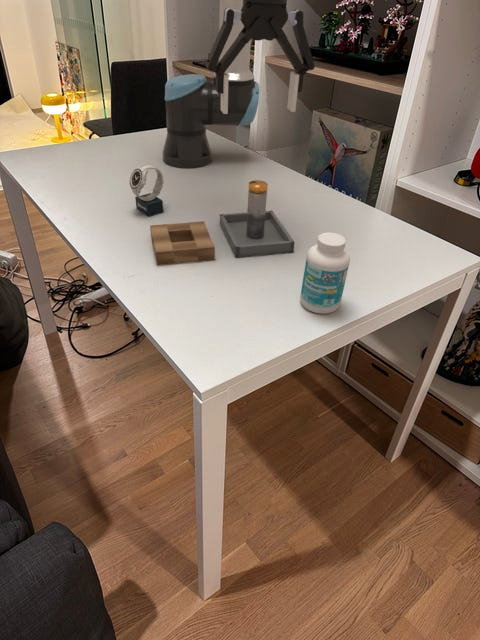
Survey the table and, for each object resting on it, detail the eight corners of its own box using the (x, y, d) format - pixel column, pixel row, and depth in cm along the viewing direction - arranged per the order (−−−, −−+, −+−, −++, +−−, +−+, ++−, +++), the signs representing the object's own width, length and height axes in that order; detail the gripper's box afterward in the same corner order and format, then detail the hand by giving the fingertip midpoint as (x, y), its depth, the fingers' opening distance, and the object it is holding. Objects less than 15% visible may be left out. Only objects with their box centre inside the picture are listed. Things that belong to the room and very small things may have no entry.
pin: (248, 240, 103) (251, 188, 96) (244, 231, 106) (246, 180, 99) (265, 238, 104) (270, 186, 96) (260, 230, 107) (264, 179, 99)
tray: (219, 224, 110) (219, 214, 108) (271, 220, 113) (272, 210, 111) (235, 257, 98) (235, 247, 96) (293, 252, 100) (294, 242, 99)
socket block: (151, 237, 103) (150, 225, 101) (204, 233, 106) (203, 221, 104) (156, 265, 94) (155, 252, 92) (214, 259, 97) (214, 247, 95)
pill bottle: (295, 309, 84) (304, 243, 76) (305, 288, 90) (314, 225, 81) (335, 319, 82) (349, 253, 74) (343, 297, 88) (357, 233, 79)
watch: (129, 210, 114) (124, 166, 107) (157, 203, 118) (154, 160, 111) (141, 219, 110) (136, 174, 104) (169, 210, 115) (167, 166, 108)
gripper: (196, -28, 71) (198, 118, 84) (345, -22, 76) (325, 114, 90) (187, -30, 76) (191, 107, 90) (327, -24, 82) (310, 104, 95)
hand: (258, 111), depth 90 cm, fingers open, 13 cm apart
